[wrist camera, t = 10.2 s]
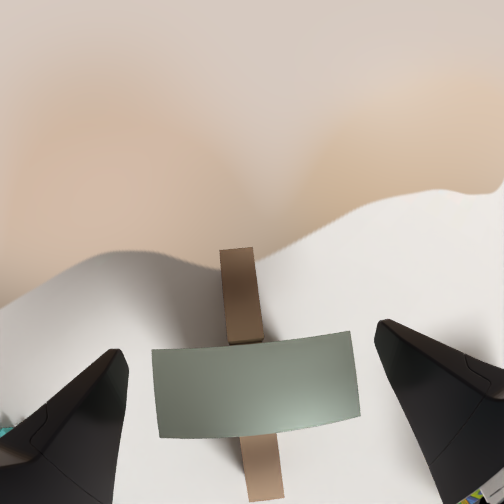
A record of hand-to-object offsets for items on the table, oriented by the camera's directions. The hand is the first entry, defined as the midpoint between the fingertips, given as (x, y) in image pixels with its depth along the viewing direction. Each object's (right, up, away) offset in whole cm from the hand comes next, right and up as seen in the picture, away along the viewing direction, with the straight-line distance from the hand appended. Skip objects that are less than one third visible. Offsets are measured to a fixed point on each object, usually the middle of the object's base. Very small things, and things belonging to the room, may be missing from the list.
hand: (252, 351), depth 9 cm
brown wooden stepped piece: (0, -6, +11) cm, 13 cm away
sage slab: (0, -6, +11) cm, 13 cm away
